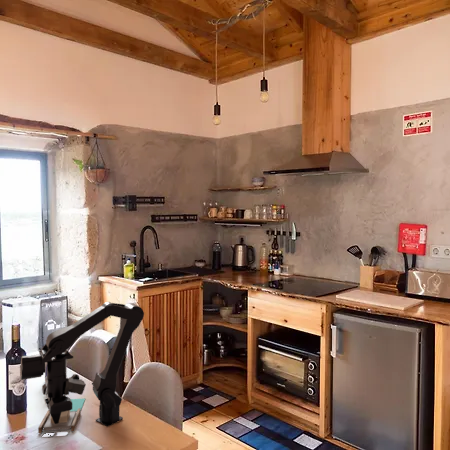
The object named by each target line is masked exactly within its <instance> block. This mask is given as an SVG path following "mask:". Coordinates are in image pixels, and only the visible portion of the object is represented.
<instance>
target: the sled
mask: <svg viewBox="0 0 450 450" xmlns="http://www.w3.org/2000/svg"><path fill="white" fill-rule="evenodd" d="M76 413H77V412H76V411H72V412H70V410H69V411H65V412H61V416H60V419H59V423H58V424H55V423H54V421H53V419H52V416H51V414H50V416H49V418H48V420H47V422H46V424H45V426H44V429H43V431H55V430H71V425H72V423H73V420H74V418H75V415H76Z"/></svg>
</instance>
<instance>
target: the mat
mask: <svg viewBox="0 0 450 450" xmlns="http://www.w3.org/2000/svg"><path fill="white" fill-rule="evenodd" d="M70 399H71V401H72V410H70V412H72V411H76V413H77V410H78V408H81V410H82V409H83V406H84V404H85V402H86V398H70Z"/></svg>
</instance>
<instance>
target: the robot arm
mask: <svg viewBox="0 0 450 450" xmlns="http://www.w3.org/2000/svg"><path fill="white" fill-rule="evenodd" d="M109 317H116V318H119V319H120V320H119V329H118V333H117V335H116V338H115V341H114V343H113V346H112V348H111V351H110V353H109V356H108V357H107V358H108V359H107V361H106V363H105V367H104V369H103V370H102V371H101V372H96V373H95V376H94V380H93V382H91V385H92V392H93V394H94V395H95V396H96V398H97V399H98V401H99V405H98V406H99V411H98V412H99V413H98V417H97V418H96V419H95V422H97V423H99V424H102V425H104V426H106V427H110V426H113V425H114V424H116V423H118V422H120V421H123V420H124V417H123V416H121V415H120V408H121V407H120V405H121V403H122V400H123V399H122V397H121V396H120V394H119V393H118V392H117V391H116V390H117V384H118V383H117V381H118V374H119V370H120V367H121V365H122V363H123V360H124V357H125V354H126V351H127V349H128V348H129V347H128V346H129V344H130V341H131V337H132V335H133V334H134V332H135V331H136V330H137V329H138V328H139V327H140V326H141V325H140V324H141V323H142V321H143V319H144V317H145V312H144V310H143V308H142V307H140V306H139V305H137V304H135V303H133V302H130V303H127V304H124V303H116V302H110V301H106V302H104V303H102V305H100V306H99V307H98V308H95V309H94V310H93V311H91V312H90V313H88V314H86V315H85V316H84V317H82V318H80V319H79V320H77V321H76V322H74V323H73V324H71V325H69V326H66V327H63V328H59V329H57V330H54V331H53V332H51V333H49V334H48V336H46V340H45V344H44V345H43V346H42V348H41V349H40V351H39V354H34V355H32V354H31V355H22V356H21V359H20V365H19V376H20V377H19V378H20V381H24V380H30V379H37V378H41V377H42V376H44V375H45V362H47V376H46V381H47V383H45V382H44V383H43V385H42V386H41V388H42V389H41V393H42V395H46V396H47V398H45V399H44V402H45V404H46V407H47V409H48V410H49V412H50V414H51V416H52V419H53V421H54V423H55V424H58V423H59V419H60V416H61V412H65V411H69V410H72V401H71V399H72V398H70V397H69V395H70V393H72V394H78V395H80V396H81V395H83V393H84V391H85V388H86V386H87V385H86V382H85V381H84V380H83V379H82V378H80V375H79V374H76V373H72V375H71V377H68V373H67V372H68V371H67V370H68V369H67V365H68V364H67V363H68V362H67V360H72V359H74V355H73V354H72V353H71V352H69V350H68V349H69V348H71V346H73V345H74V343H75V342H76V341H77V340H78V339H79V338H80V337H81V336H82V335H84V334H85V333H87V332H88V331H90V330H92V329H93V328H95V327H96V326H97V325H99V324H100V323H102V322H104V321H105V320H107V319H108V318H109ZM48 410H47V411H48Z"/></svg>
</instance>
